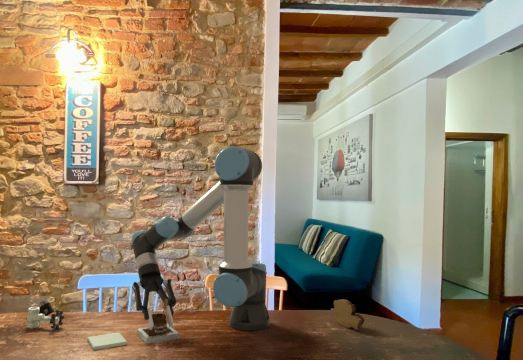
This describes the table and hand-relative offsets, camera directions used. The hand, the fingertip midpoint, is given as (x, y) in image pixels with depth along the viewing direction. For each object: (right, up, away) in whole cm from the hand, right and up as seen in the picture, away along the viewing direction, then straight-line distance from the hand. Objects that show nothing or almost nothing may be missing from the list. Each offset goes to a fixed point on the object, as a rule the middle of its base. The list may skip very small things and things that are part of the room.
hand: (161, 326), depth 140 cm
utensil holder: (-2, -5, +3) cm, 6 cm away
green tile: (-17, -4, -4) cm, 18 cm away
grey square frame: (-2, -4, +3) cm, 6 cm away
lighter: (-51, -4, +21) cm, 55 cm away
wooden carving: (+65, -7, +18) cm, 68 cm away
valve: (-44, -4, +9) cm, 45 cm away
